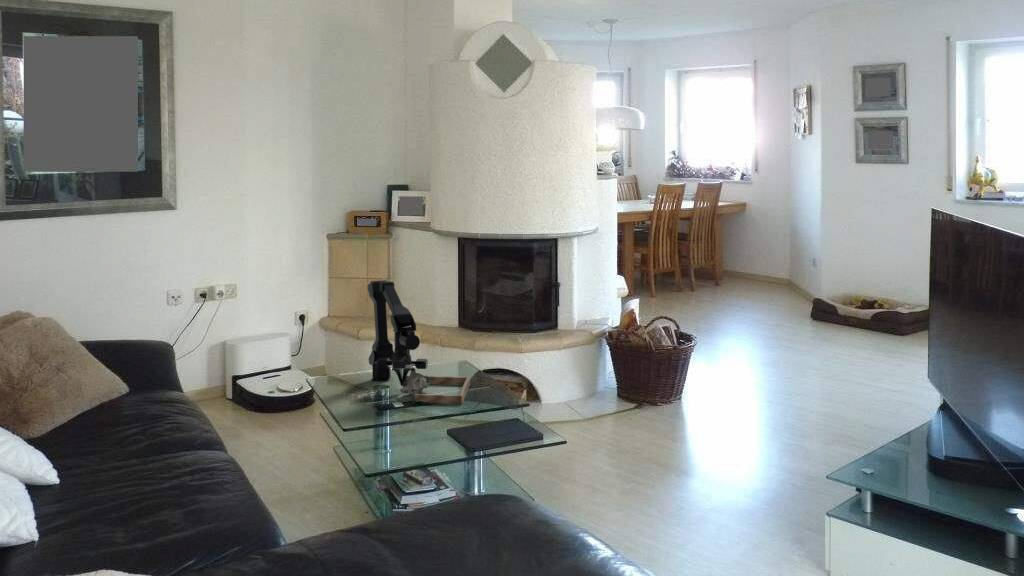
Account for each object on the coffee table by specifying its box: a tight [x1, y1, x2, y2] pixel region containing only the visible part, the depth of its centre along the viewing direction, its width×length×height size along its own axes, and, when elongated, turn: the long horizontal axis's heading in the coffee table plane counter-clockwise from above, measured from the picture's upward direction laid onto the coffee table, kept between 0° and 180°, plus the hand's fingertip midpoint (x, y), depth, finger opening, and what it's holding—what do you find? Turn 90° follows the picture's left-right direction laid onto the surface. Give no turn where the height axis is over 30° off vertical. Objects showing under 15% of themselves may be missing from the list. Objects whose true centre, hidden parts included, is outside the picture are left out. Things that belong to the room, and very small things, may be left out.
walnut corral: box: [414, 375, 471, 405], centre depth 350 cm, size 17×28×3 cm, turn 177°
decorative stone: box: [399, 367, 431, 400], centre depth 347 cm, size 16×9×10 cm, turn 171°
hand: (402, 385), depth 351 cm, fingers closed
